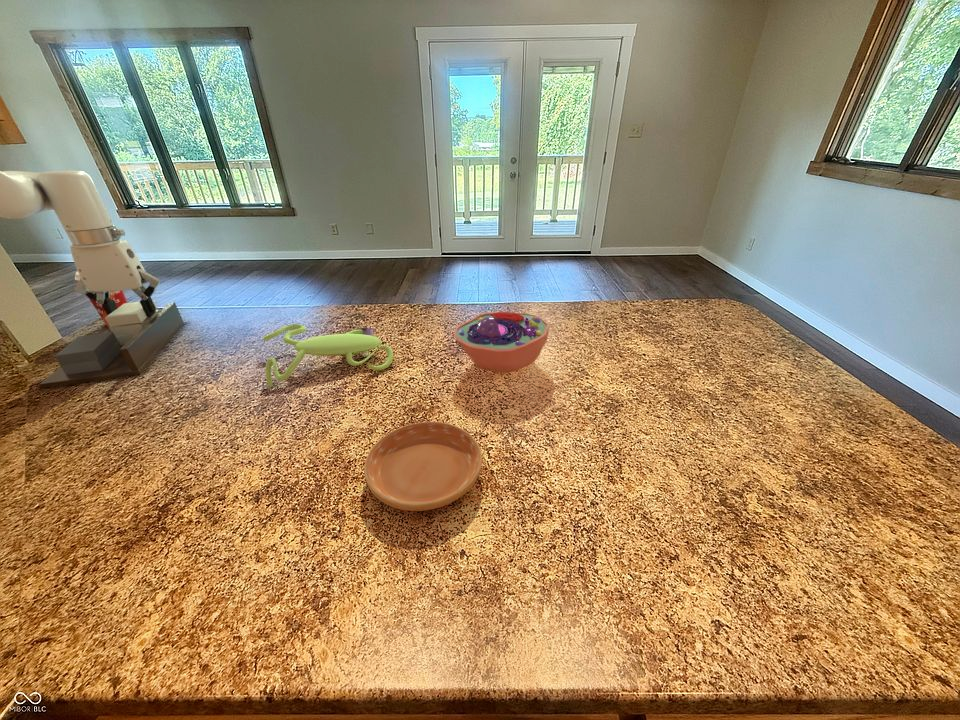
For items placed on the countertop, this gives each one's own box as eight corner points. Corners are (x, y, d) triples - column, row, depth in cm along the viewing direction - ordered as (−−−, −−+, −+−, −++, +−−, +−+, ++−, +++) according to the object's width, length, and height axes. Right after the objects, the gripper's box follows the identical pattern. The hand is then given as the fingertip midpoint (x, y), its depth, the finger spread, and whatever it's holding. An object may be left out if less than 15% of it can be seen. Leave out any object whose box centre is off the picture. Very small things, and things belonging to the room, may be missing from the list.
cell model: (565, 367, 78) (572, 317, 72) (484, 398, 69) (483, 343, 63) (516, 336, 90) (518, 291, 85) (441, 359, 81) (438, 310, 76)
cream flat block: (109, 327, 84) (104, 317, 82) (128, 311, 91) (123, 303, 90) (141, 322, 85) (136, 313, 84) (157, 308, 92) (153, 299, 91)
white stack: (117, 345, 86) (108, 328, 83) (136, 328, 93) (127, 312, 91) (151, 341, 87) (143, 324, 85) (166, 325, 95) (159, 309, 93)
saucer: (392, 429, 61) (390, 415, 60) (490, 440, 59) (490, 425, 58) (346, 512, 48) (341, 496, 46) (470, 531, 45) (469, 514, 44)
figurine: (272, 346, 87) (265, 323, 84) (390, 332, 93) (388, 311, 90) (251, 390, 72) (242, 364, 69) (395, 371, 77) (391, 347, 74)
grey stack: (64, 375, 75) (51, 356, 73) (89, 353, 82) (78, 335, 80) (103, 370, 76) (92, 351, 74) (125, 349, 84) (115, 331, 82)
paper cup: (100, 332, 94) (69, 277, 87) (103, 321, 100) (74, 269, 93) (139, 324, 98) (113, 271, 91) (140, 314, 104) (115, 263, 97)
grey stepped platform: (41, 388, 73) (22, 361, 70) (109, 332, 94) (97, 309, 91) (140, 374, 77) (126, 348, 74) (184, 323, 98) (174, 302, 95)
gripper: (150, 230, 84) (183, 306, 93) (54, 236, 80) (98, 315, 89) (135, 237, 78) (171, 317, 87) (30, 244, 74) (79, 328, 83)
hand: (134, 315), depth 88 cm, fingers closed on cream flat block, 6 cm apart
